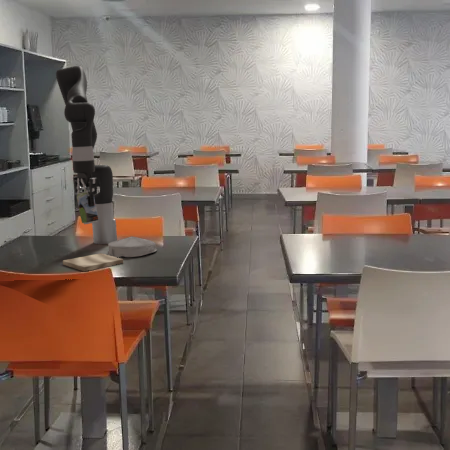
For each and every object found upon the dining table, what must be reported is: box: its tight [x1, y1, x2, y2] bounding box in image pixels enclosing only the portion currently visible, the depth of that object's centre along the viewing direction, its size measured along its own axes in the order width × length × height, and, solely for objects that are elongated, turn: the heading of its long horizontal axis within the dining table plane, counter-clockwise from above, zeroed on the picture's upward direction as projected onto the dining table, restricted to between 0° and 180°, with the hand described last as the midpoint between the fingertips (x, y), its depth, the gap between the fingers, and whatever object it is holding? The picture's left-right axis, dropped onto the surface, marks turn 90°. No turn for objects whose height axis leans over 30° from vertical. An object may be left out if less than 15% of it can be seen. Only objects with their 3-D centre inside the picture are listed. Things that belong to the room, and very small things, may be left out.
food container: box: [107, 236, 158, 258], centre depth 251 cm, size 20×20×7 cm
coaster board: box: [62, 252, 124, 272], centre depth 233 cm, size 16×16×2 cm
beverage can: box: [76, 191, 98, 225], centre depth 229 cm, size 6×7×12 cm
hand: (86, 205), depth 230 cm, fingers closed on beverage can, 6 cm apart
